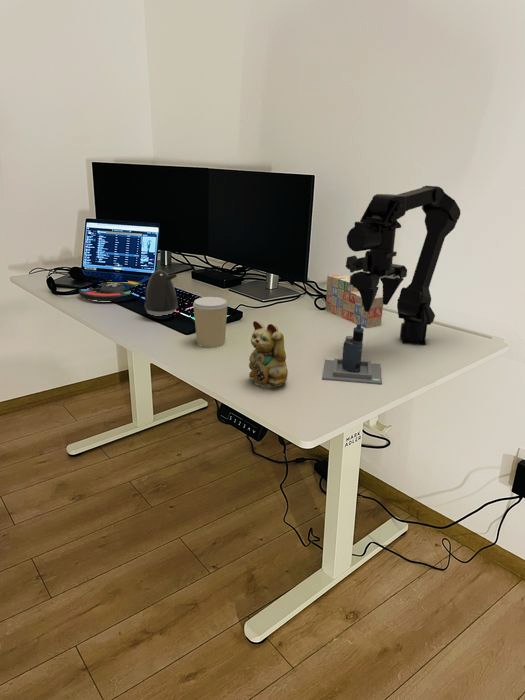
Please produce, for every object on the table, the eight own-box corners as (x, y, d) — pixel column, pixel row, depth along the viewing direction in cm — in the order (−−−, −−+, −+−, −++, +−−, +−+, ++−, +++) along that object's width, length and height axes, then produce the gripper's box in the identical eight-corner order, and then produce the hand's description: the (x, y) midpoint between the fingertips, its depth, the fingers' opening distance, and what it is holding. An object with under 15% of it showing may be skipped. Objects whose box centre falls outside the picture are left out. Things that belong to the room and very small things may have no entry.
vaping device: (354, 374, 131) (358, 327, 127) (339, 367, 135) (343, 321, 131) (362, 372, 133) (366, 325, 128) (347, 365, 137) (350, 319, 132)
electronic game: (131, 285, 211) (130, 273, 209) (156, 299, 193) (155, 286, 191) (71, 293, 198) (70, 280, 197) (92, 308, 181) (90, 294, 179)
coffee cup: (232, 339, 154) (232, 298, 150) (221, 350, 146) (220, 307, 142) (201, 335, 157) (200, 295, 152) (188, 346, 148) (187, 304, 144)
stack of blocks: (381, 325, 169) (385, 287, 165) (366, 328, 166) (369, 289, 162) (339, 308, 187) (342, 272, 182) (324, 310, 184) (326, 274, 179)
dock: (380, 365, 138) (380, 359, 138) (382, 384, 127) (382, 378, 127) (324, 361, 140) (325, 355, 140) (321, 379, 129) (322, 373, 129)
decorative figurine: (242, 382, 126) (242, 321, 121) (262, 371, 133) (263, 312, 128) (277, 393, 121) (279, 329, 116) (296, 381, 128) (298, 320, 123)
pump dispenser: (173, 323, 166) (171, 275, 161) (140, 321, 168) (137, 273, 163) (182, 314, 176) (181, 267, 170) (152, 312, 177) (149, 266, 172)
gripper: (373, 239, 146) (367, 295, 152) (333, 247, 133) (329, 309, 139) (411, 244, 139) (404, 303, 145) (373, 253, 126) (367, 318, 132)
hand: (376, 308), depth 140 cm, fingers open, 9 cm apart
